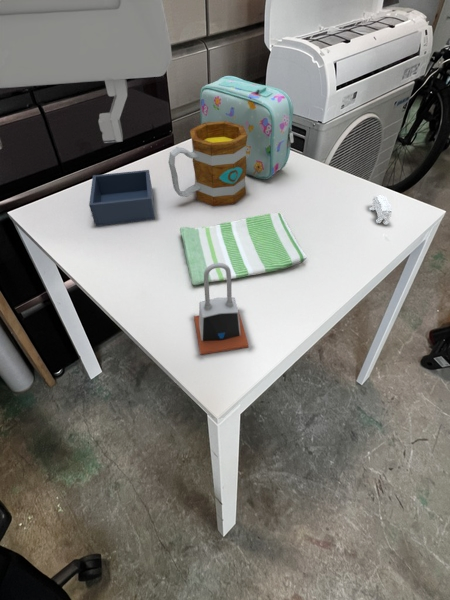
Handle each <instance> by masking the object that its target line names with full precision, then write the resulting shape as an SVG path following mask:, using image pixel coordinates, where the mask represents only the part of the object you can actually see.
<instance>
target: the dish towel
mask: <svg viewBox="0 0 450 600" xmlns="http://www.w3.org/2000/svg"><path fill="white" fill-rule="evenodd" d="M179 233H180V234H181V239H182V244H183V248H184V254H185V258H186V264H187V268H188V272H189V276H190V280H191V285H193V286H198V285H201V284H204V272H205V269H206V268H207V267H208V266H210V265H212V264H214V263H223V264H226V265H227V266H228V267H229V268H230V271H231V280H232V279H239V278H245V277H247V276H255V275H259V274H261V275H262V274H264V273H265V274H266V273H271V272H275V271H281V270H284V269H286V268H290V267H292V266H295V265H298V264H301V263H303V262H304V261H306V260H307V255H306V253H305V252H304V250H303V249H302V247H301V245H300V244H299V242H298V240H297V238H296V237H295V235H294V233H293V231H292V229H291V228H290V226H289V224H288V223H287V220H286V218H284V216H283V214H282V213H281V212H271V213H266V214H261V215H255V216H250V217H249V216H248V217H245V218H242V219H238V220H234V221H227V222H222V223H218V224H216V225H210V226H198V227H188V226H182V227H180V228H179ZM220 281H227V277H226V271H225V269H223V268H215V269H212V270H211V271H210V272H209V283H212V282H220Z"/></svg>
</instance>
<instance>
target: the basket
mask: <svg viewBox="0 0 450 600" xmlns="http://www.w3.org/2000/svg"><path fill="white" fill-rule="evenodd" d="M88 203H89V204H88V206H89V210H90V213H91V216H92V219H93V222H94V224H95V227H103V226H110V225H111V226H112V225H119V224H126V223H127V224H128V223H135V222H136V223H137V222H145V221H152V220H156V214H155V212H156V211H155V203H154V192H153V186H152V179H151V174H150V169H143V170H133V171H124V172H123V171H122V172H113V173H103V174H94V175H92V180H91V189H90V196H89V202H88Z"/></svg>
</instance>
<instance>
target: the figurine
mask: <svg viewBox="0 0 450 600" xmlns="http://www.w3.org/2000/svg"><path fill="white" fill-rule="evenodd" d="M368 209H369V211H375V212H376V213H377V219H375V223H376V224H380V223H382V224H383V225H384V226H385V225H388V224H389V222H390V218H391V217H392V207H391V203H390V202H389V201H388V199H387V196H386V195H376V196H373V199H372V205H371V206H369V208H368Z"/></svg>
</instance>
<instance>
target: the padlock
mask: <svg viewBox="0 0 450 600" xmlns="http://www.w3.org/2000/svg"><path fill="white" fill-rule="evenodd" d="M215 268H223V269H225V271H226V277H227V280H226V297H215V298H210V282H209V272H210V271H211V270H212V269H215ZM203 287H204V289H203V290H204V300H202V301H199V303H198V304H199V305H198V306H199V307H198V309H199V310H198V316H199V329H200V335H201V341H219V340H225V339H229V338H233V337H236V336H240V335H241V330H240V320H239V313H240V311H239V312H238V310H239V309H238V305H237V301H236V297H234V296H232V295H233V294H232V293H233V292H232V291H233V290H232V279H231V271H230V268H229V267H228V266H227V265H226V264H223V263H214V264H212V265H210V266H208V267H207V268H206V269H205V272H204V283H203Z"/></svg>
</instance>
